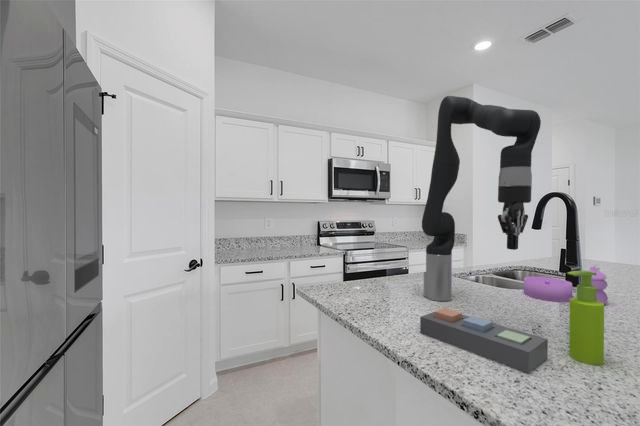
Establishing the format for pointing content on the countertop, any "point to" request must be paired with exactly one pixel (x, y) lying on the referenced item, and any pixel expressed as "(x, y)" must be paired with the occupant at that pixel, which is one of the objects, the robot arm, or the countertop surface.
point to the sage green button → (514, 337)
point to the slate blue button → (478, 324)
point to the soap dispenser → (586, 322)
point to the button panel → (488, 342)
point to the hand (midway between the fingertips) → (512, 249)
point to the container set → (561, 288)
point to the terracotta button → (448, 315)
